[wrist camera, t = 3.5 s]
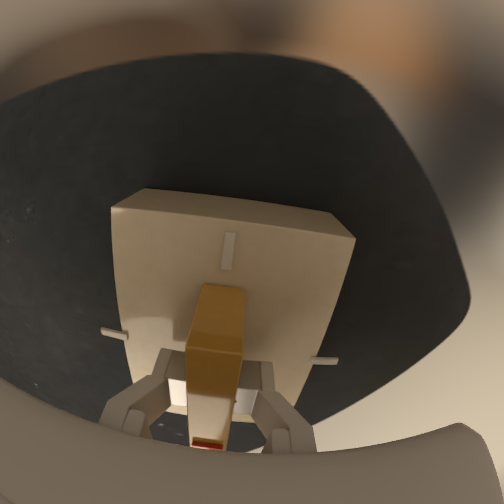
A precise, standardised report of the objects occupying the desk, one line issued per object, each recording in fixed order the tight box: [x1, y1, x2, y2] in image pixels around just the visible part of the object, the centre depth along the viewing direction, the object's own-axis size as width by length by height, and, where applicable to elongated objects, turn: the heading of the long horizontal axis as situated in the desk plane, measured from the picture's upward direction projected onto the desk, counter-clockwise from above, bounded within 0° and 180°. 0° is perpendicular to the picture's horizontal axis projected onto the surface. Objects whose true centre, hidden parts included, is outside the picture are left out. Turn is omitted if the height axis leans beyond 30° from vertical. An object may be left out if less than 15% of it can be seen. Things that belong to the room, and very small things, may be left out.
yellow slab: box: [185, 284, 245, 451], centre depth 10 cm, size 7×2×4 cm, turn 172°
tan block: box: [101, 188, 356, 423], centre depth 13 cm, size 12×11×4 cm
